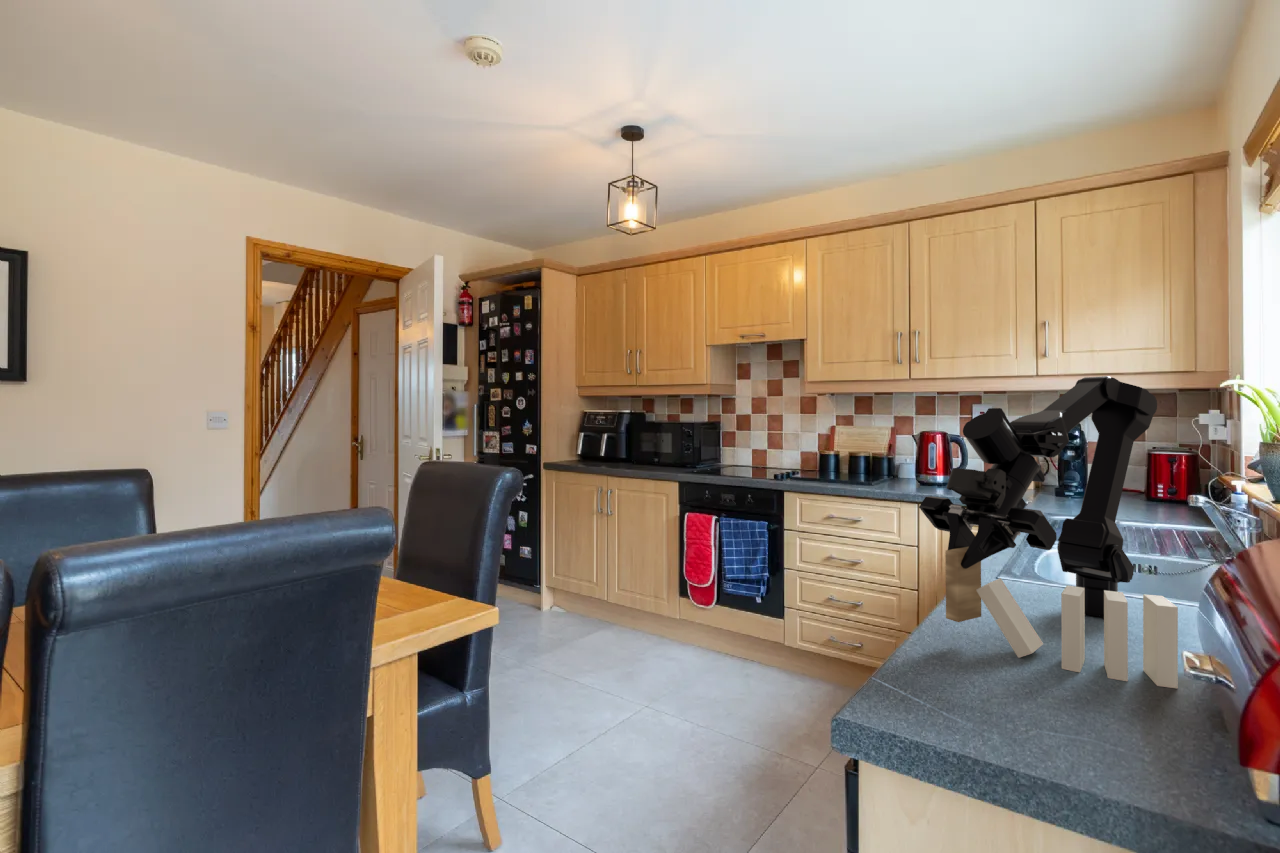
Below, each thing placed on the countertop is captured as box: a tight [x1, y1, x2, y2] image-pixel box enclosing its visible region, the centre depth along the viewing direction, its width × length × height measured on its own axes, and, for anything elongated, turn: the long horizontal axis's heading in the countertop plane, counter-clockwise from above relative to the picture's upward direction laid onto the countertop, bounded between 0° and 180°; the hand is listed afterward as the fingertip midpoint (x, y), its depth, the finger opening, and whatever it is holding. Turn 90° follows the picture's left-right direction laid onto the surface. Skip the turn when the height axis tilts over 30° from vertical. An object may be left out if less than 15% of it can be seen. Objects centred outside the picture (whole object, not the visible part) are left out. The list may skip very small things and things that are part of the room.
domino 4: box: [1103, 590, 1129, 682], centre depth 80 cm, size 2×5×10 cm, turn 148°
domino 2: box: [976, 577, 1044, 659], centre depth 89 cm, size 2×5×10 cm
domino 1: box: [944, 547, 982, 623], centre depth 91 cm, size 2×5×10 cm, turn 116°
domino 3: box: [1060, 585, 1086, 673], centre depth 83 cm, size 2×5×10 cm, turn 139°
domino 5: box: [1142, 594, 1179, 689], centre depth 78 cm, size 2×5×10 cm, turn 156°
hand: (955, 565), depth 90 cm, fingers closed on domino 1, 2 cm apart
